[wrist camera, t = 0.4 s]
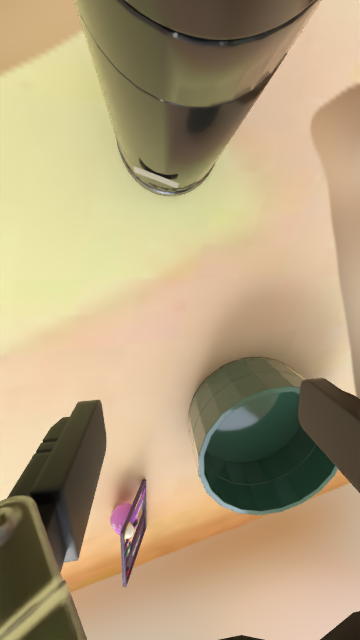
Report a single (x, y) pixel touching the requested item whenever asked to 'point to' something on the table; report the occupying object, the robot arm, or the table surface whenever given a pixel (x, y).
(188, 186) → the robot arm
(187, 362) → the table surface
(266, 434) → the bowl
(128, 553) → the game card
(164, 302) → the table surface
